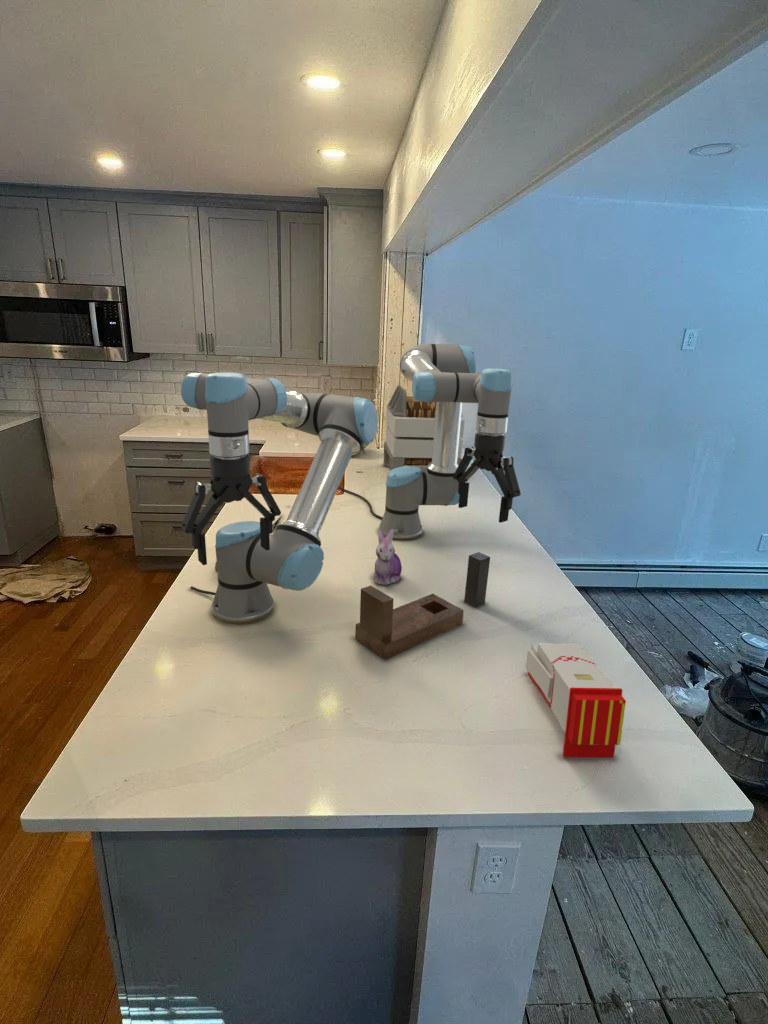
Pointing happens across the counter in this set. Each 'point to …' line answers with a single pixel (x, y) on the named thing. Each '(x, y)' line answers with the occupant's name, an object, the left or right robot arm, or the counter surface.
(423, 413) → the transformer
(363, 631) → the peg board
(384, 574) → the figurine
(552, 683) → the toy
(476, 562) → the peg
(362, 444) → the fossil
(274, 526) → the feather
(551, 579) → the counter surface
